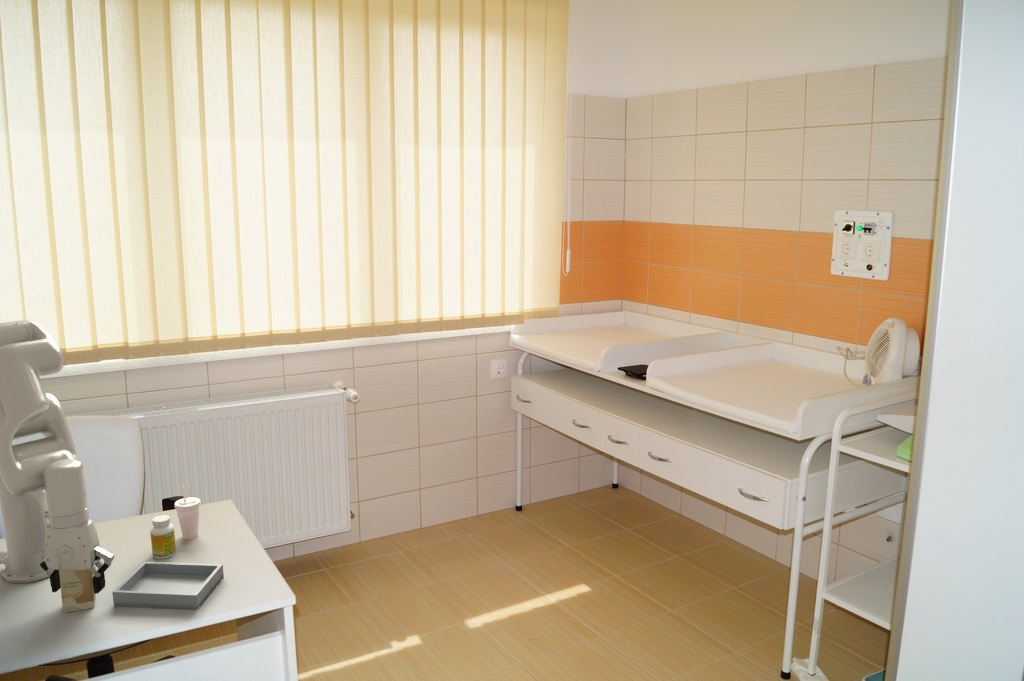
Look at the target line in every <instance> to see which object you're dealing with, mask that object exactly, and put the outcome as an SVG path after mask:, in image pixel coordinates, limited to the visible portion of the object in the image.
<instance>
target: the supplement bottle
mask: <svg viewBox="0 0 1024 681" xmlns="http://www.w3.org/2000/svg"><path fill="white" fill-rule="evenodd" d="M151 521H152V523H151V524H152V526H151V528H150V541H151V551H152V557H153V558H154V559H158V560H163V559H168V558H169V559H170V558H171V557H173V556H174V555H176V552H177V548H176V535H175V528H174V527H175V526H174V524H172V523H171V517H170V516H169V515H167V514H163V515H157V516H154V517H153V518H152V520H151Z"/></svg>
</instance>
